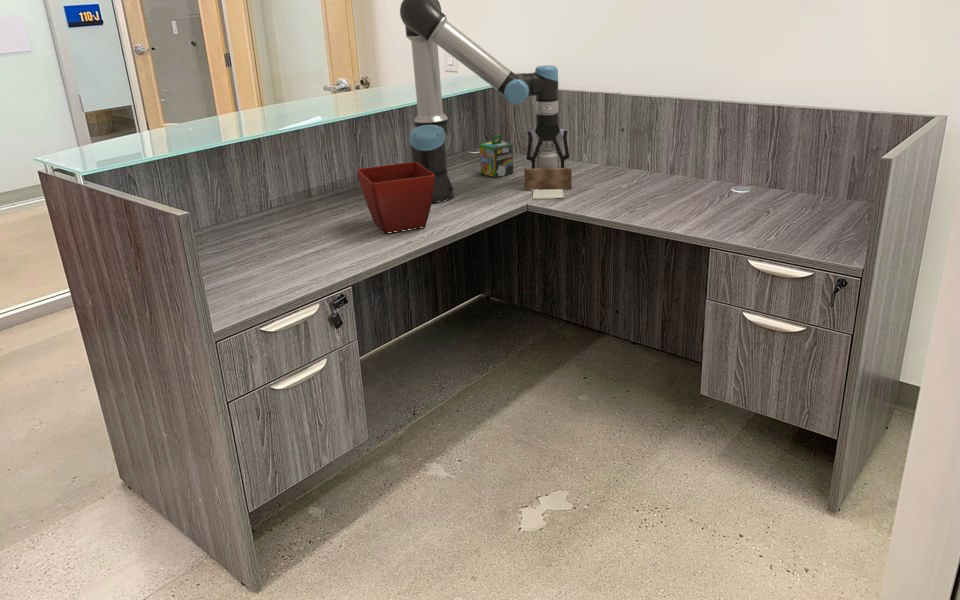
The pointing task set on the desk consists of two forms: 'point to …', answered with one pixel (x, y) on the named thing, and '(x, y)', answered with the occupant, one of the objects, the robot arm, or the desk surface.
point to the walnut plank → (548, 178)
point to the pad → (548, 194)
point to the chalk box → (496, 157)
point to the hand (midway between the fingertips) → (548, 178)
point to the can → (548, 158)
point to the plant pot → (398, 195)
